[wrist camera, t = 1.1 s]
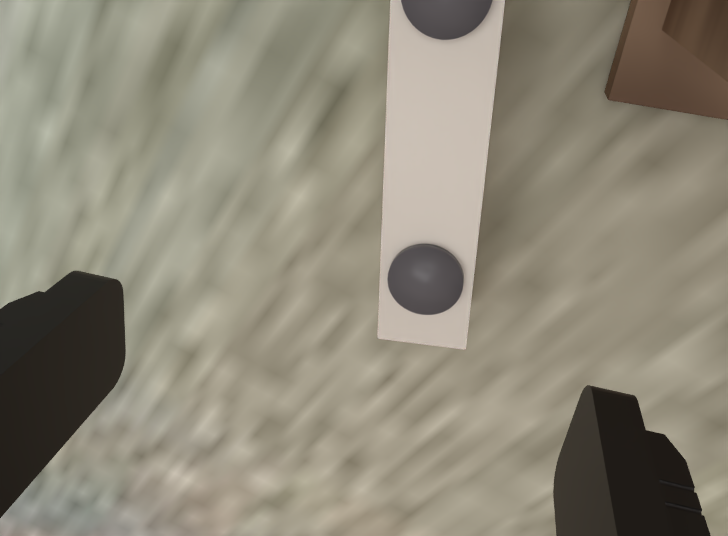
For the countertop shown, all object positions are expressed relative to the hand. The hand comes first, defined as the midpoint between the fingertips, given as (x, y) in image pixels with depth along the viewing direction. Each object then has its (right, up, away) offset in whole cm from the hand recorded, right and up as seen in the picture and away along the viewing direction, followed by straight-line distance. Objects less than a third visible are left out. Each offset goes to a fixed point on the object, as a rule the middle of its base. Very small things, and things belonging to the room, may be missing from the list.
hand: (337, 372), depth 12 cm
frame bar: (+4, +8, +15) cm, 17 cm away
